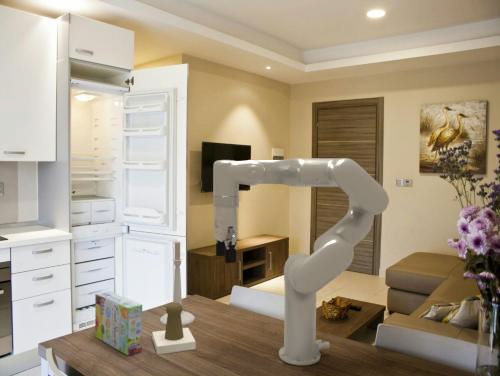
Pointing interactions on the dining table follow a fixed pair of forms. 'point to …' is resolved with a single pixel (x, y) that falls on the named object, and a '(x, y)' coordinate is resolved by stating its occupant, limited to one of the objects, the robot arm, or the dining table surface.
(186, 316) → the candlestick
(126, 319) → the snack box
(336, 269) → the robot arm
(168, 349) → the tile base
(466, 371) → the dining table surface
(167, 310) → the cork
